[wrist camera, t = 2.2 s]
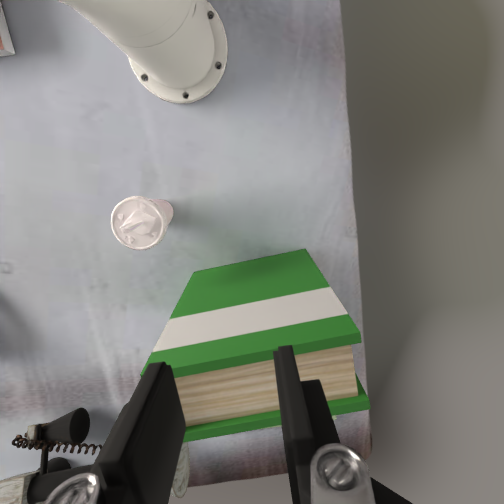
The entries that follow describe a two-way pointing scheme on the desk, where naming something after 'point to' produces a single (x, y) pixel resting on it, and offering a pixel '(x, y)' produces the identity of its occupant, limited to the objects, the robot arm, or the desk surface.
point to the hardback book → (256, 343)
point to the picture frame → (5, 36)
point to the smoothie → (141, 221)
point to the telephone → (58, 469)
